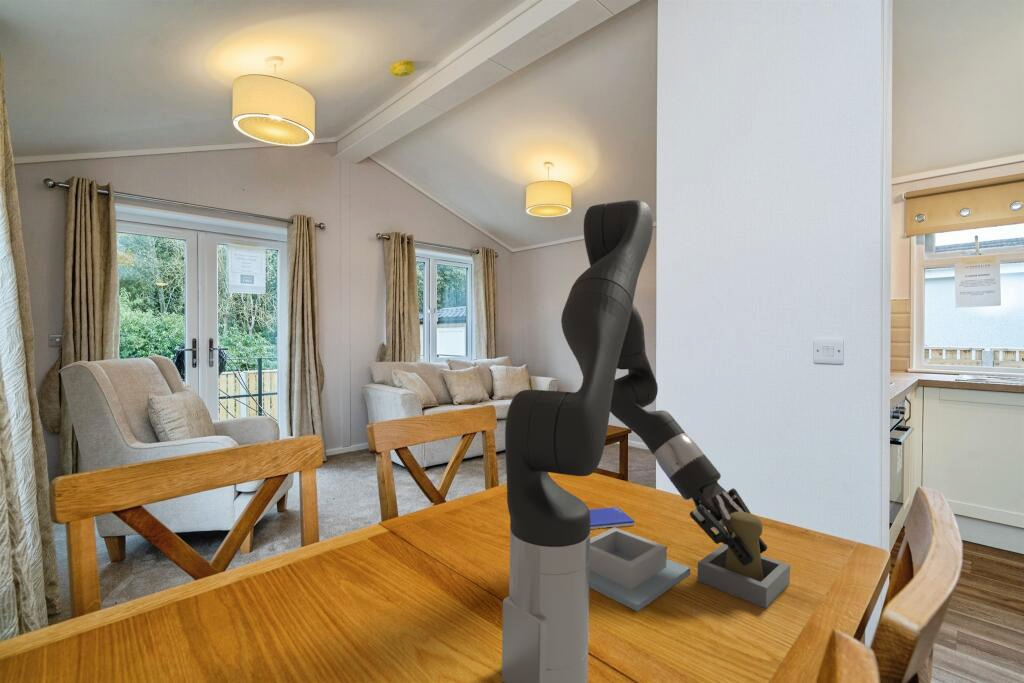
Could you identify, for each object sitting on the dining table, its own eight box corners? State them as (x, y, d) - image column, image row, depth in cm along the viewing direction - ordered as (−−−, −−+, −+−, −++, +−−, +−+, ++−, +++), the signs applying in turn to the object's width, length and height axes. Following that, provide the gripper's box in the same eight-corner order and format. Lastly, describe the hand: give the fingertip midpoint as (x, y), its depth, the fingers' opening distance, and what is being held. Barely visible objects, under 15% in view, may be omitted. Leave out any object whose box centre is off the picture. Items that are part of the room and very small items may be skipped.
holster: (766, 608, 70) (766, 588, 69) (697, 580, 77) (697, 562, 77) (789, 583, 77) (790, 564, 77) (724, 560, 84) (724, 543, 84)
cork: (741, 594, 73) (742, 523, 73) (714, 574, 79) (716, 509, 79) (773, 589, 75) (774, 519, 75) (744, 570, 81) (746, 506, 80)
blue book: (617, 506, 107) (564, 510, 104) (634, 520, 99) (578, 525, 96) (617, 513, 107) (564, 517, 104) (634, 527, 99) (578, 533, 96)
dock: (637, 611, 68) (638, 580, 68) (554, 569, 80) (554, 543, 80) (690, 573, 79) (690, 547, 79) (610, 541, 91) (610, 518, 91)
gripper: (680, 461, 77) (757, 561, 69) (718, 447, 87) (790, 533, 78) (650, 485, 81) (720, 583, 73) (690, 469, 91) (755, 553, 82)
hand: (756, 556), depth 75 cm, fingers closed on cork, 4 cm apart
